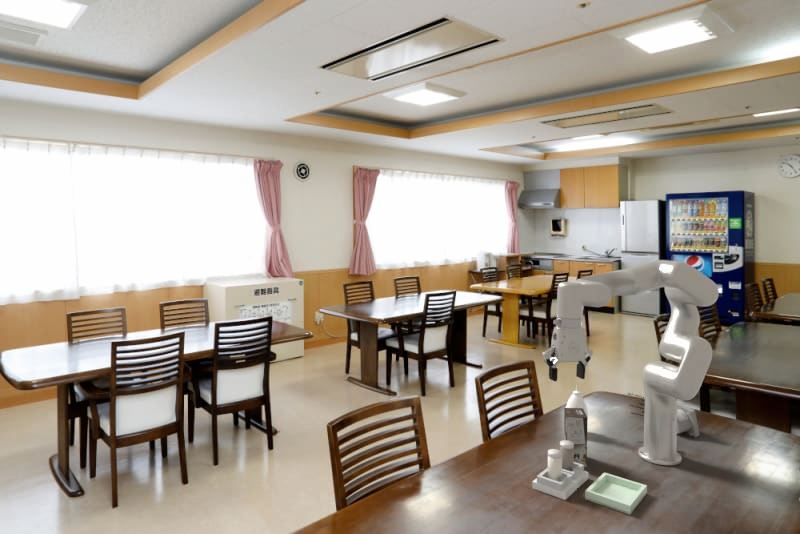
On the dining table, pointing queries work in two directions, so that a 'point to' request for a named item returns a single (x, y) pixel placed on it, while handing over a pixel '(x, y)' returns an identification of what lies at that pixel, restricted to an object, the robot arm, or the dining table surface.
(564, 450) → the cylinder
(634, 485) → the parts tray
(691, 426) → the voltmeter
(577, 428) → the coffee box
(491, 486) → the dining table surface
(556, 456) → the fuse block
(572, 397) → the sauce bottle
